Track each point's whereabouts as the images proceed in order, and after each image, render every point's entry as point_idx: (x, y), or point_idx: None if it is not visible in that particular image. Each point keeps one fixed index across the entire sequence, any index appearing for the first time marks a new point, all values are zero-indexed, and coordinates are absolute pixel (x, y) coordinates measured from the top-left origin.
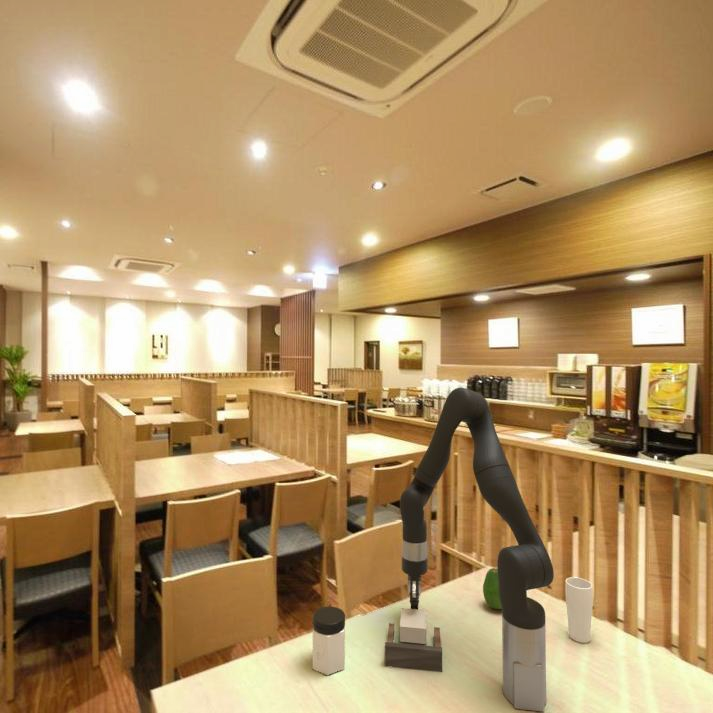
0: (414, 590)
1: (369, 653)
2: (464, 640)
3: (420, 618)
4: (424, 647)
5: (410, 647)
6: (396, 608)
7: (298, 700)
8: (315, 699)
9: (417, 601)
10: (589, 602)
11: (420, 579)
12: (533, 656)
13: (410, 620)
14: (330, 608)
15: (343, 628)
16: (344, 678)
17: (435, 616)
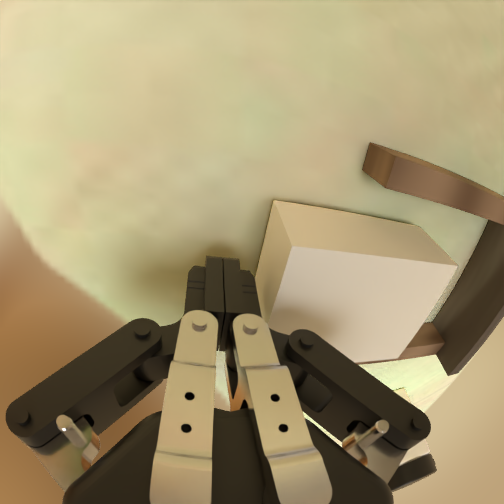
0: (399, 459)
1: (379, 366)
2: (405, 30)
3: (377, 287)
4: None
5: (500, 320)
6: (118, 312)
7: (426, 404)
8: (436, 393)
9: (346, 364)
10: None
11: (208, 490)
12: None
13: (377, 330)
14: None
15: (426, 456)
16: (423, 380)
17: (159, 123)
